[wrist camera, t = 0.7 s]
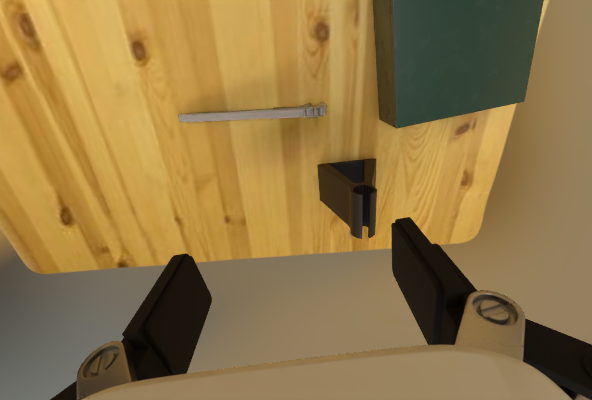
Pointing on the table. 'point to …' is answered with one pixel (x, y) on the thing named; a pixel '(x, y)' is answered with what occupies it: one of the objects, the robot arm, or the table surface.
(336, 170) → the phone stand
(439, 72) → the cabinet
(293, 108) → the grey bent bar
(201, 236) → the table surface
